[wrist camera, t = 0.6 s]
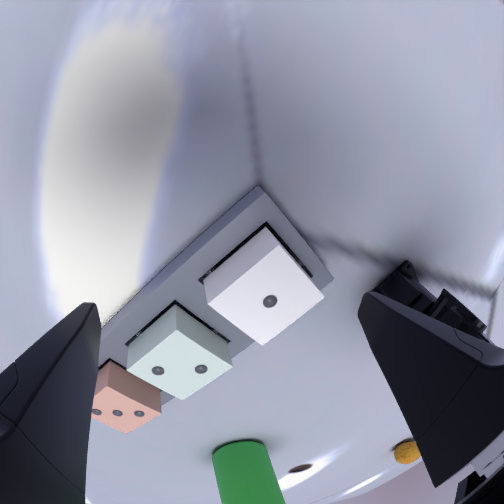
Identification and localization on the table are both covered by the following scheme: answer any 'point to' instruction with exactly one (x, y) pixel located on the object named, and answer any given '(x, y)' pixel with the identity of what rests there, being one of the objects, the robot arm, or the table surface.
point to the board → (192, 275)
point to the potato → (407, 452)
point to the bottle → (246, 474)
